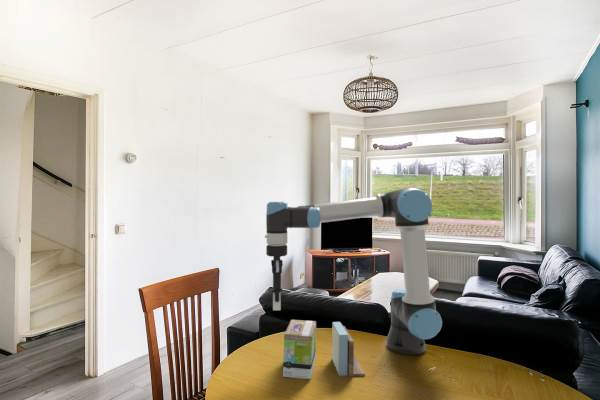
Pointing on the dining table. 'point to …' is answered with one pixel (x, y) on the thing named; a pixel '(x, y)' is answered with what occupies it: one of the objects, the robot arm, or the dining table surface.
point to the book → (339, 348)
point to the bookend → (353, 359)
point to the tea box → (299, 349)
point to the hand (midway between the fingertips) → (276, 309)
